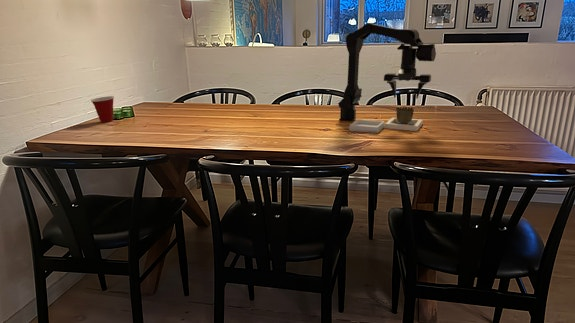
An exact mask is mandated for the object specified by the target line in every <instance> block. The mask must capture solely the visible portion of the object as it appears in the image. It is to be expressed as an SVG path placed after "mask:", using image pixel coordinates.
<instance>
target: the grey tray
mask: <svg viewBox="0 0 575 323" xmlns="http://www.w3.org/2000/svg"><path fill="white" fill-rule="evenodd" d="M385 123H386V121H385V120H373V119H359V118H358V119H356V120H355V121H354V122H353V121H352V123H351V124H349V128H348V129H349V131H350V132H360V133H372V134H379V132H381V131H382V130H383V129H385Z"/></svg>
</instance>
